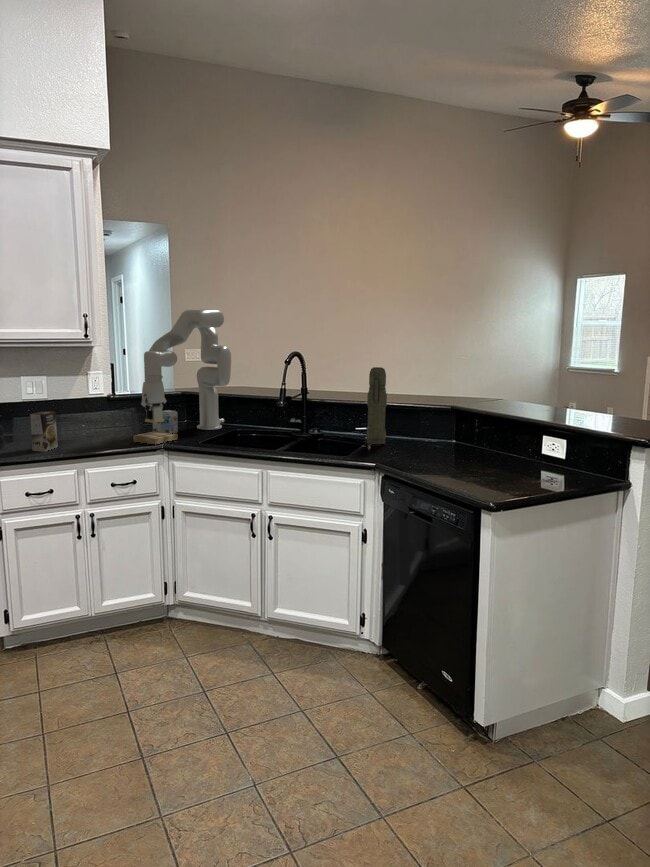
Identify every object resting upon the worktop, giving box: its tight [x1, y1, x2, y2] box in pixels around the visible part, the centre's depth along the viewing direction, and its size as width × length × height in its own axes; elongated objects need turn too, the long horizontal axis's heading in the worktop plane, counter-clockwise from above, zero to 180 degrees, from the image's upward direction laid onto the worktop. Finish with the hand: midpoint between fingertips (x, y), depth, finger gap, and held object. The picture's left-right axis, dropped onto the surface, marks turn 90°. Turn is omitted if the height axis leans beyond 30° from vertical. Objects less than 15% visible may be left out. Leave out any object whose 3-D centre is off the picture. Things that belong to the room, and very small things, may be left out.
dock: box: [132, 431, 179, 446], centre depth 297 cm, size 14×14×3 cm
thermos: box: [365, 366, 388, 445], centre depth 294 cm, size 9×12×35 cm
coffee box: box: [29, 410, 58, 453], centre depth 276 cm, size 9×6×16 cm
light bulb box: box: [152, 409, 179, 434], centre depth 316 cm, size 11×7×11 cm, turn 143°
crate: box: [144, 404, 164, 424], centre depth 294 cm, size 6×6×7 cm
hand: (154, 417), depth 295 cm, fingers closed on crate, 5 cm apart
